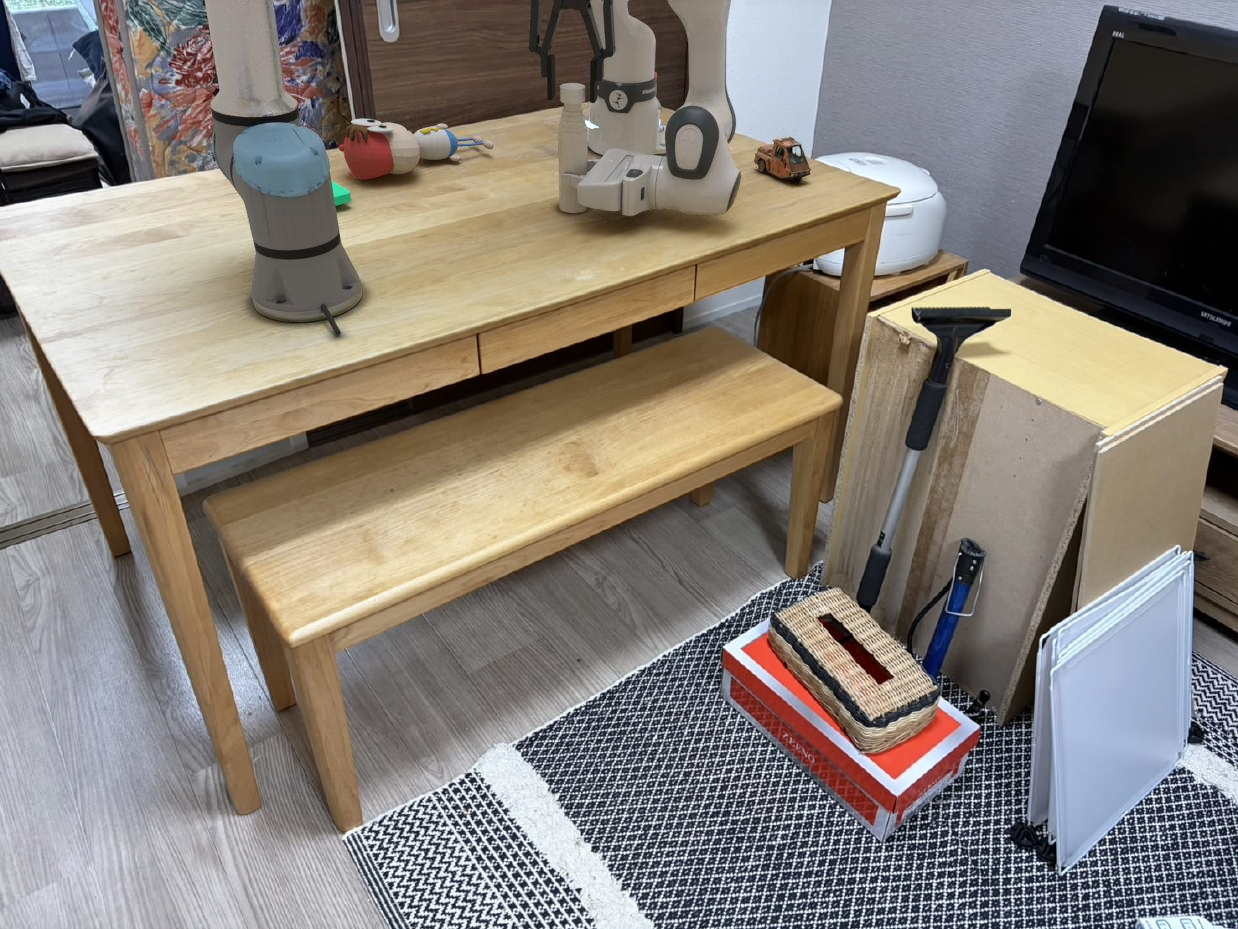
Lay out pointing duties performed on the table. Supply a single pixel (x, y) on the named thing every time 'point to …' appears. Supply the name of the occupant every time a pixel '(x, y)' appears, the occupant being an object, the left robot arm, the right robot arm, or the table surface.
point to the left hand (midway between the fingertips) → (572, 98)
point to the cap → (572, 93)
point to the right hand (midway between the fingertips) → (568, 171)
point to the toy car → (782, 160)
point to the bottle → (571, 154)
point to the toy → (397, 147)
